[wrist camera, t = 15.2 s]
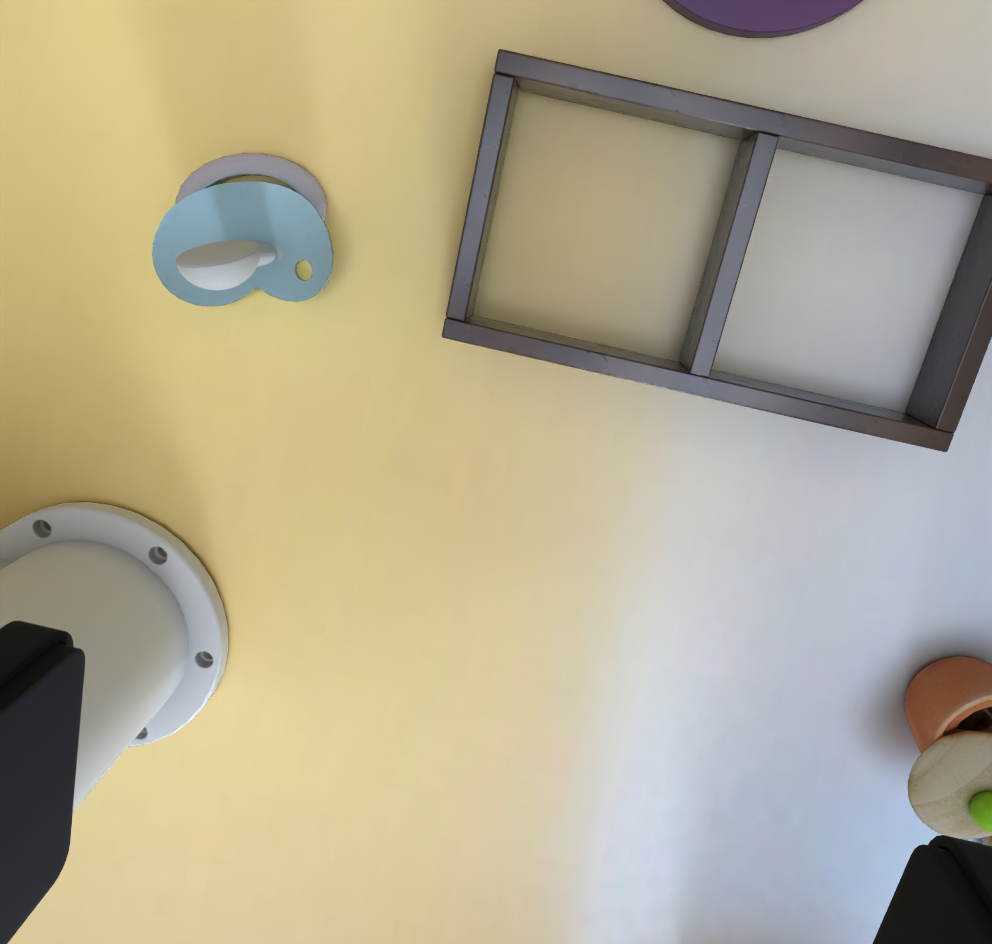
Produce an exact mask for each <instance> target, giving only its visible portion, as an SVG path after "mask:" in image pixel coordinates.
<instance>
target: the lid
mask: <svg viewBox="0 0 992 944" xmlns="http://www.w3.org/2000/svg"><path fill="white" fill-rule="evenodd" d="M664 1H665V2H666V3H667V4H668V5H669V6H671V7H672V8H673V9H674V10H676V11H677V12H679V13H680V14H682V15H683V16H685V17H686V18H688V19H689V20H691V21H693V22H695V23H697V24H699V25H702V26H704V27H706V28H708V29H711V30H714V31H718V32H721V33H724V34H728V35H734V36H740V37H747V38H772V37H779V36H786V35H792V34H796V33H799V32H803V31H806V30H810V29H813V28H815V27H817V26H820V25H822V24H825V23H827V22H829V21H832V20H833V19H835V18H837V17H839V16H840V15H842V14H844V13H845V12H847V11H849V10H851V9H852V8H854V7H855V6H856V5H857V4H859V3H860V2H861V1H863V0H664Z"/></svg>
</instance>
